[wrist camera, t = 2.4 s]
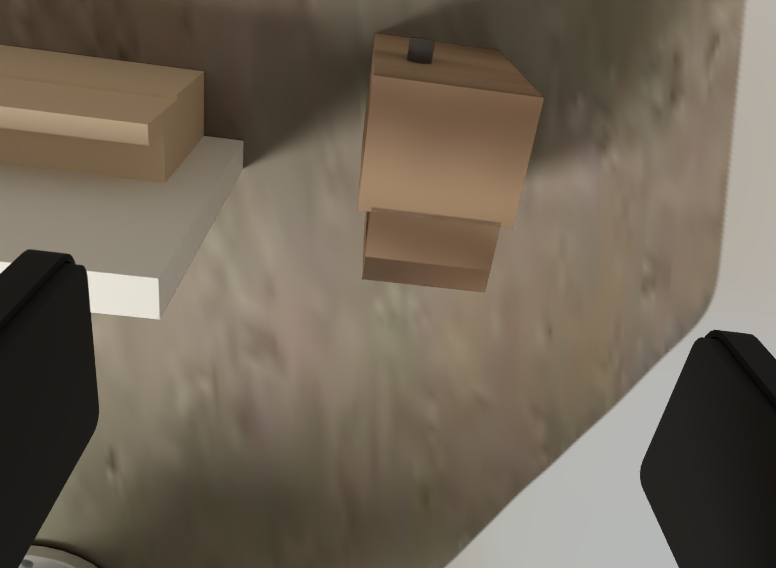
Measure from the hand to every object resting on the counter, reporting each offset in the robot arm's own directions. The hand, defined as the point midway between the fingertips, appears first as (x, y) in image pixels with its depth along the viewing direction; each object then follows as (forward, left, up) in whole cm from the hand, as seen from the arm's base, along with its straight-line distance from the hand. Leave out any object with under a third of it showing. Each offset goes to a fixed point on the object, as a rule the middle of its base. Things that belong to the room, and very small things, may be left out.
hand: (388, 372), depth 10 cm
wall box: (-2, -2, -25) cm, 25 cm away
